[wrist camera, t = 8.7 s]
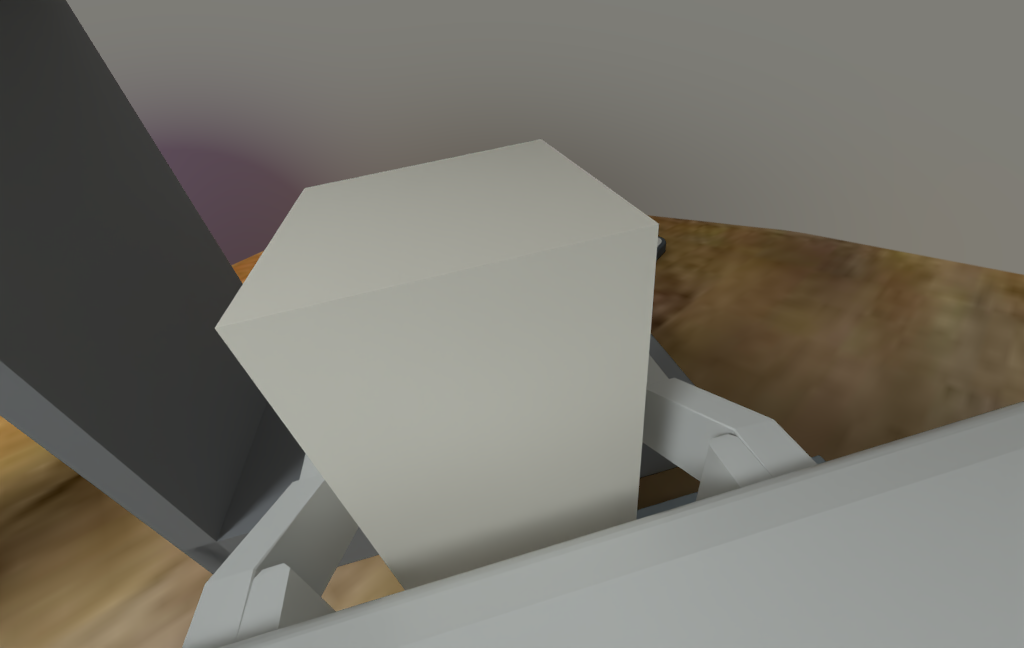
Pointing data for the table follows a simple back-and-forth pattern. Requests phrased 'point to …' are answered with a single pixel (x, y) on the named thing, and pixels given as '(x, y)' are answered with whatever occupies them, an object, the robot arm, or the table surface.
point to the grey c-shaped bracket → (129, 306)
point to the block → (460, 352)
